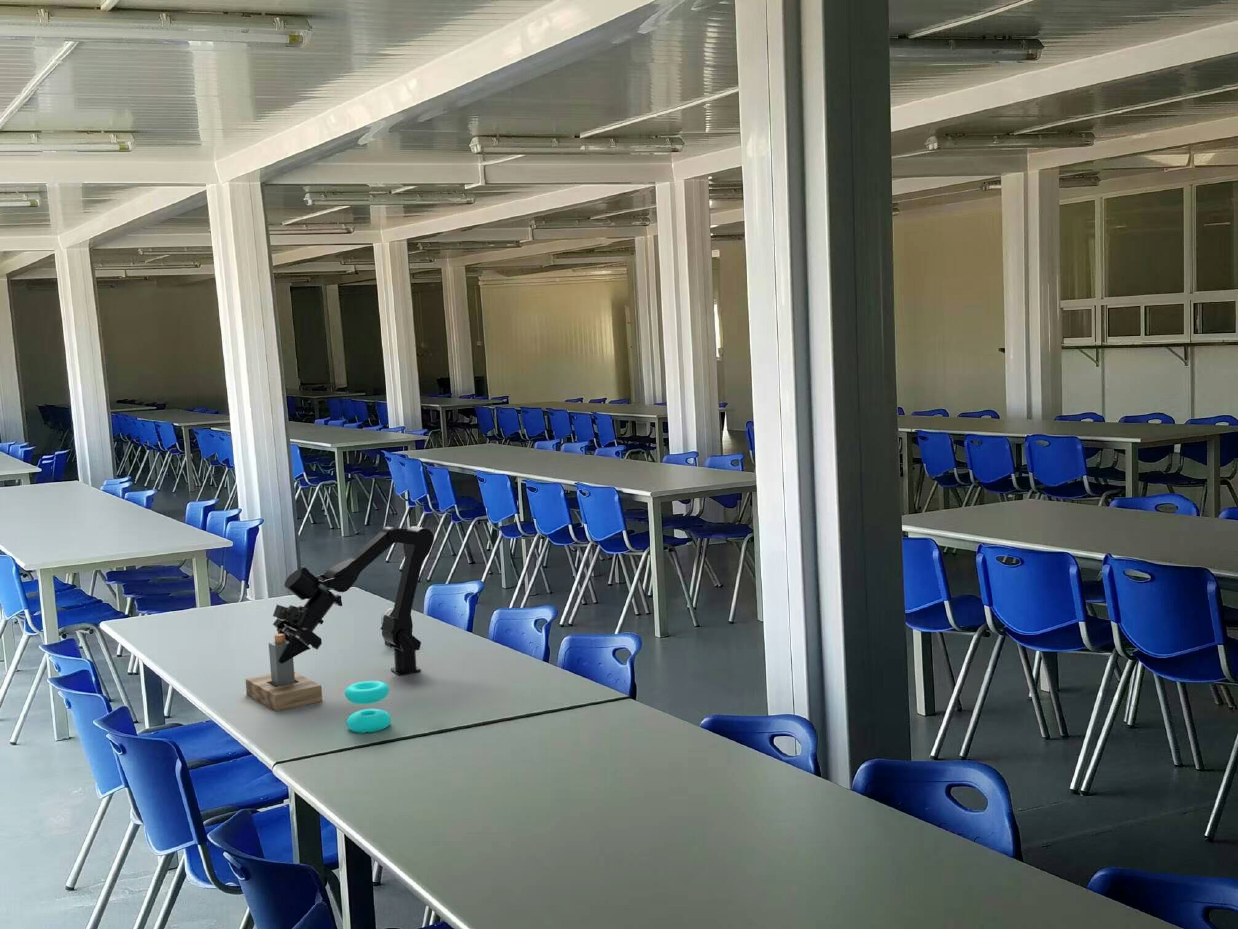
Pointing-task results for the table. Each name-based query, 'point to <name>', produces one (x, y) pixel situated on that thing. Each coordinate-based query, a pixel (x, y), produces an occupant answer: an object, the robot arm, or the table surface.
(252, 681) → the wooden block with hole
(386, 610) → the watch
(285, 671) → the gray square post
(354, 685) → the donuts
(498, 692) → the table surface
